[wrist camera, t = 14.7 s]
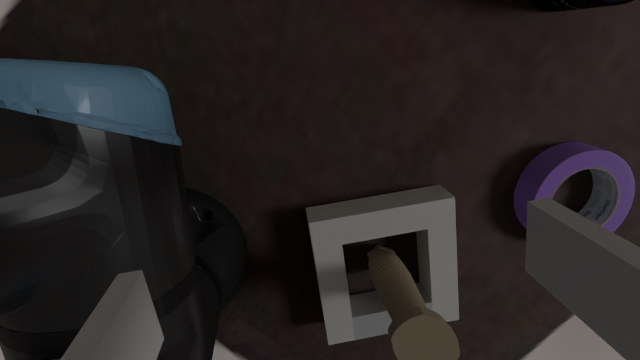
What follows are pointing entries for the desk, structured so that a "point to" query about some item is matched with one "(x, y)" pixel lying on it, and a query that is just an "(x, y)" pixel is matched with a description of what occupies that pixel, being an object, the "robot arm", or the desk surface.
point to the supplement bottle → (575, 4)
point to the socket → (376, 222)
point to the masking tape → (567, 159)
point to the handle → (409, 312)
